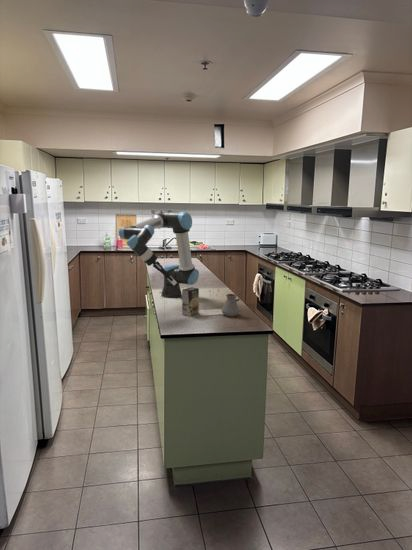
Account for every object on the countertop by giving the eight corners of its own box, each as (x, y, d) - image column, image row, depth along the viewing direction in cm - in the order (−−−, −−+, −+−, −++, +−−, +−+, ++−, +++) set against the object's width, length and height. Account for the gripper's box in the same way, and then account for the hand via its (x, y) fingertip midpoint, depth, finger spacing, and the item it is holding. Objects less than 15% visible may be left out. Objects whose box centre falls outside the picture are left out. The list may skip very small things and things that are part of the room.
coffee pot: (219, 312, 255) (220, 289, 251) (236, 311, 258) (237, 289, 254) (228, 323, 235) (230, 299, 231) (246, 323, 238) (248, 299, 234)
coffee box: (189, 316, 245) (189, 291, 242) (182, 314, 249) (181, 289, 246) (199, 312, 252) (199, 288, 249) (191, 311, 256) (191, 286, 253)
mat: (195, 310, 258) (195, 310, 258) (221, 309, 264) (221, 308, 264) (201, 316, 247) (201, 315, 247) (228, 314, 253) (228, 313, 253)
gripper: (142, 260, 241) (168, 286, 249) (146, 263, 229) (173, 290, 237) (151, 251, 242) (176, 277, 250) (155, 253, 230) (182, 281, 238)
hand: (175, 283), depth 244 cm, fingers closed
